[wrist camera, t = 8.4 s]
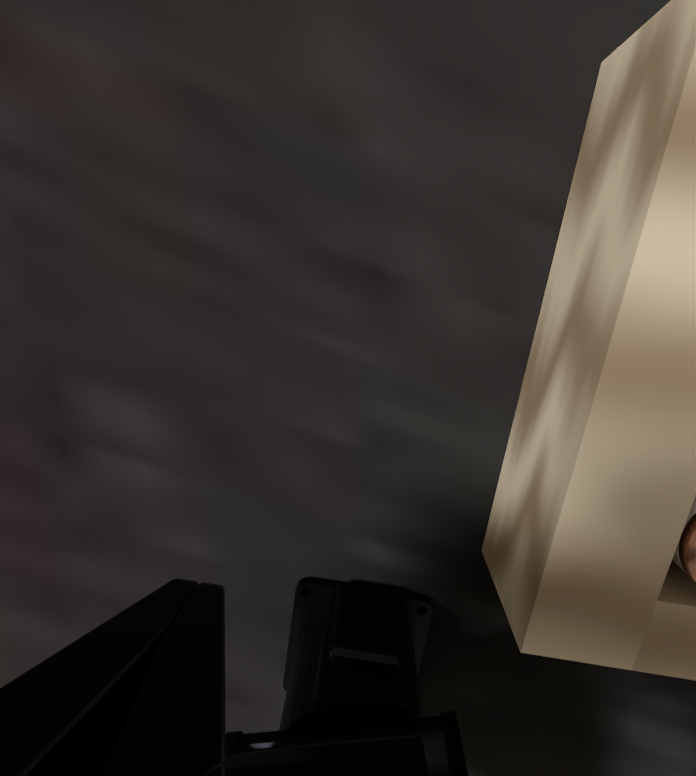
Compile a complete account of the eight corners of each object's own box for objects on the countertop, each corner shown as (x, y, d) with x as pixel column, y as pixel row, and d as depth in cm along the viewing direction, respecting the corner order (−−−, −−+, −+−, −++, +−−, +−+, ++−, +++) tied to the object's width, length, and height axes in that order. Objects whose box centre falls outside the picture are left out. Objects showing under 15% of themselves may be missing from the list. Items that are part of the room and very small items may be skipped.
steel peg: (675, 518, 21) (784, 609, 15) (593, 505, 21) (673, 591, 15) (702, 442, 20) (829, 510, 14) (616, 429, 20) (710, 491, 14)
